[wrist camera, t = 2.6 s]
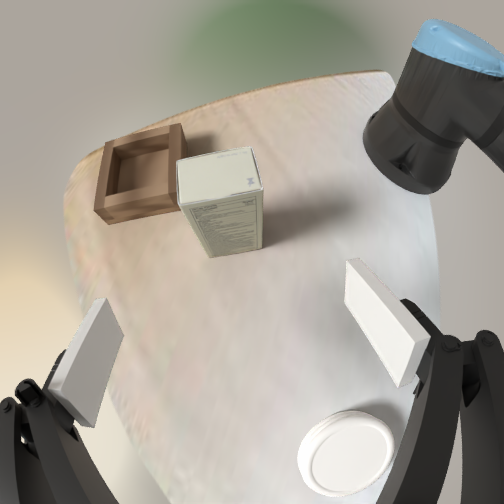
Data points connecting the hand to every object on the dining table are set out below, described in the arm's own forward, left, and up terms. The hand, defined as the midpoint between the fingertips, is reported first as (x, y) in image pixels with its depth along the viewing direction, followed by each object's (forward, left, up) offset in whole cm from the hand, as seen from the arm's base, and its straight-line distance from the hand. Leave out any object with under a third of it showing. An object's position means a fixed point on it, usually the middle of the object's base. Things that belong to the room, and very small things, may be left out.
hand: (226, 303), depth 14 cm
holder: (+10, -20, -14) cm, 26 cm away
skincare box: (0, -10, -14) cm, 17 cm away
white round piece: (-8, +16, -15) cm, 23 cm away
